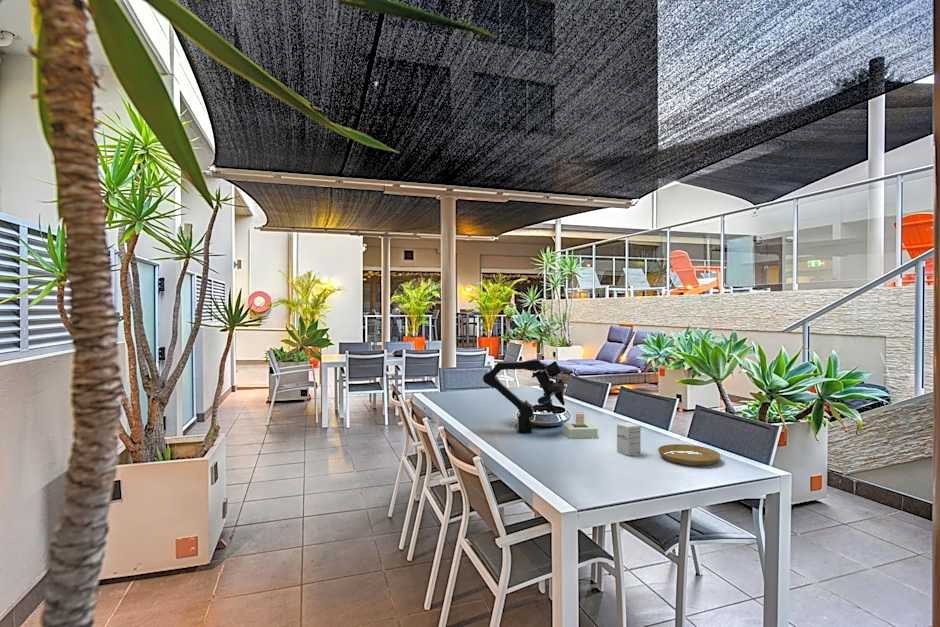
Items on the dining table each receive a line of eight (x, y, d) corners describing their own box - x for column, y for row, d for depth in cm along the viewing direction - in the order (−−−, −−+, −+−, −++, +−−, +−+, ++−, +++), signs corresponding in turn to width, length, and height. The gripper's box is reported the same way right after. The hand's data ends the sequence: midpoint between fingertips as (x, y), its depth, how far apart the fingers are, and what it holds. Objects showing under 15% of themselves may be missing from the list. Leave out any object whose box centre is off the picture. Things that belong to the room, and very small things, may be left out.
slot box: (569, 438, 239) (569, 429, 239) (562, 431, 253) (562, 422, 253) (597, 437, 240) (597, 428, 240) (589, 430, 254) (589, 422, 254)
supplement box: (616, 451, 217) (616, 423, 217) (629, 449, 220) (629, 421, 220) (628, 456, 210) (628, 427, 210) (641, 453, 213) (641, 425, 213)
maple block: (584, 435, 244) (583, 413, 244) (575, 435, 245) (575, 413, 245) (583, 433, 248) (583, 412, 248) (575, 433, 249) (575, 411, 249)
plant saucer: (656, 448, 221) (656, 441, 221) (715, 453, 214) (715, 446, 214) (659, 465, 199) (659, 457, 198) (725, 471, 191) (725, 462, 191)
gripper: (546, 383, 239) (562, 412, 237) (565, 370, 252) (580, 397, 251) (530, 390, 246) (545, 417, 245) (549, 376, 260) (563, 403, 258)
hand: (559, 408), depth 250 cm, fingers open, 9 cm apart
